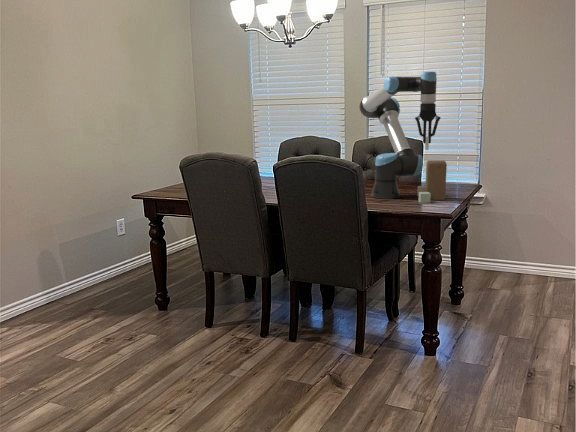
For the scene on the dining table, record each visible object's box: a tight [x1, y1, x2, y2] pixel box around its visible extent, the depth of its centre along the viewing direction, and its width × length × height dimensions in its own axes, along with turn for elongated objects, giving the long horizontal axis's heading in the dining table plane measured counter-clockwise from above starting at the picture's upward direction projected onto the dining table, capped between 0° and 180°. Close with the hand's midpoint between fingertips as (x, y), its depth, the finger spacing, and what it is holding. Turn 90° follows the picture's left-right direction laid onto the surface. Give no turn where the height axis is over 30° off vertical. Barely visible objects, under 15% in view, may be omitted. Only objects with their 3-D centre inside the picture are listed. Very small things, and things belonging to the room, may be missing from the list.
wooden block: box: [424, 160, 448, 201], centre depth 301 cm, size 10×10×20 cm
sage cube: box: [418, 192, 431, 204], centre depth 294 cm, size 5×5×5 cm
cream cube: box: [416, 185, 425, 197], centre depth 313 cm, size 5×5×5 cm
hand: (426, 149), depth 293 cm, fingers closed
